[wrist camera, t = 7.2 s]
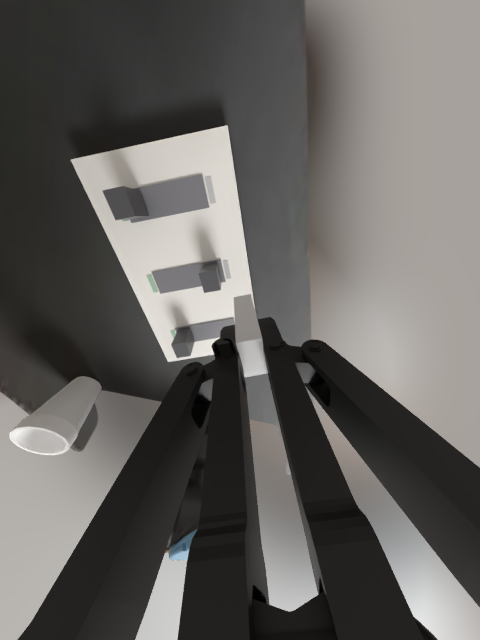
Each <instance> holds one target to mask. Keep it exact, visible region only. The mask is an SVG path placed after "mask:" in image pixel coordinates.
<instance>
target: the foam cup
mask: <svg viewBox="0 0 480 640" xmlns="http://www.w3.org/2000/svg"><path fill="white" fill-rule="evenodd" d="M101 388H102V387H101V385H100V383H99V382H98V381H96V380H95V379H93V378H90V377H85V376H81V377H77V378H75V379H74V380H73V381H71V382H70V383H69V384H68V385H66V386H65V387H64V388H63V389H62V390H60V391H59V392H58V393H57V394H55V395H54V396H53V397H52V398H51V399H49V400H48V401H47V402H46V403H45V404H43V405H42V406H41V407H40V408H38V409H37V410H36V411H35V412H34V413H32V414H31V415H29V416H28V417H26V418H25V419H24V420H22V421H21V422H20V423H19V424H18V425H17V426H16V427H15V428H14V429H13V430H12V431H11V432H10V439H11V441H12V442H13V443H14V444H15V445H16V446H19V447H20V448H22V449H24V450H26V451H29V452H33V453H36V454H43V455H57V454H62V453H64V452H66V451H67V450H68V449H69V448H70V447H71V445H72V444H73V442H74V441H75V439H76V438H77V435H78V432H79V430H80V428H81V426H82V425H83V423H84V421H85V419H86V417H87V415H88V414H89V412H90V410H91V408H92V406H93V404H94V403H95V401H96V399H97V397H98V395H99V393H100V391H101Z"/></svg>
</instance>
